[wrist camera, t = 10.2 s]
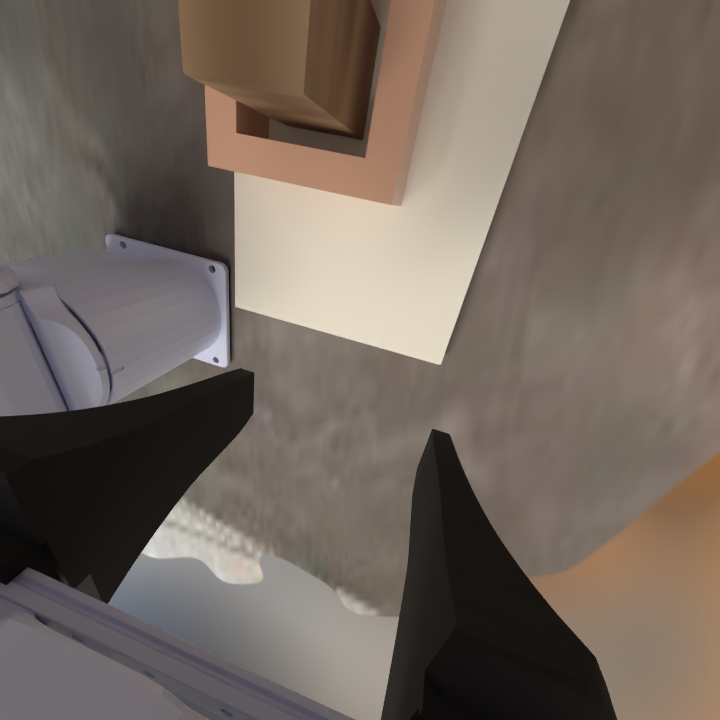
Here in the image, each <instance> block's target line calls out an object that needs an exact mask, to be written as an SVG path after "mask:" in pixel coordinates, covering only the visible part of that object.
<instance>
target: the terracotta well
mask: <svg viewBox="0 0 720 720" xmlns="http://www.w3.org/2000/svg"><path fill="white" fill-rule="evenodd" d="M446 1H447V0H391V4H390V10H389V16H388V22H387V28H386V34H385V41H384V47H383V53H382V59H381V65H380V71H379V77H378V84H377V90H376V96H375V102H374V108H373V114H372V121H371V127H370V133H369V139H368V145H367V151H366V157H365V158H361V157H356V156H351V155H346V154H341V153H336V152H331V151H326V150H321V149H315V148H310V147H305V146H300V145H295V144H290V143H285V142H280V141H274V140H269V117H268V116H266V115H264V114H262V113H260V112H258V111H256V110H254V109H252V108H250V107H248V106H246V105H244V104H242V103H240V102H238V101H236V100H234V99H232V98H230V97H228V96H226V95H224V94H222V93H220V92H218V91H216V90H214V89H212V88H210V87H208V86H206V85H205V108H206V132H207V155H208V166H211V167H216V168H220V169H225V170H230V171H234V172H239V173H244V174H248V175H253V176H258V177H262V178H267V179H272V180H276V181H281V182H285V183H290V184H295V185H299V186H304V187H309V188H313V189H318V190H323V191H327V192H332V193H337V194H341V195H346V196H351V197H355V198H360V199H364V200H369V201H374V202H378V203H383V204H388V205H394V206H401V204H402V199H403V195H404V190H405V186H406V181H407V177H408V172H409V168H410V163H411V159H412V154H413V150H414V145H415V141H416V136H417V132H418V127H419V123H420V118H421V114H422V109H423V105H424V100H425V96H426V91H427V87H428V82H429V78H430V73H431V69H432V64H433V60H434V55H435V51H436V46H437V42H438V37H439V33H440V28H441V24H442V19H443V15H444V10H445V6H446Z"/></svg>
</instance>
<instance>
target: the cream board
mask: <svg viewBox="0 0 720 720" xmlns="http://www.w3.org/2000/svg"><path fill="white" fill-rule="evenodd" d="M370 1H371V4H372V6H373V9H374V11H375V14H376V16H377V19H378V21H379V24H380V27H381V28H380V35H379V41H378V48H377V54H376V61H375V67H374V73H373V80H372V86H371V93H370V99H369V105H368V112H367V118H366V125H365V131H364V137H363V140H359V139H354V138H349V137H343V136H338V135H333V134H327V133H322V132H317V131H311V130H306V129H301V128H295V127H290V126H286V125H284V124H282V123H280V122H278V121H276V120H274V119H272V118H270V117H269V140H274V141H280V142H285V143H290V144H295V145H300V146H305V147H310V148H315V149H321V150H326V151H331V152H336V153H341V154H346V155H351V156H356V157H361V158H365V157H366V151H367V145H368V139H369V133H370V127H371V121H372V114H373V108H374V102H375V96H376V90H377V84H378V77H379V71H380V65H381V59H382V53H383V47H384V41H385V34H386V28H387V22H388V16H389V10H390V4H391V0H370ZM569 2H570V0H447V1H446V6H445V10H444V15H443V19H442V24H441V28H440V33H439V37H438V42H437V46H436V51H435V55H434V60H433V64H432V69H431V73H430V78H429V82H428V87H427V91H426V96H425V100H424V105H423V109H422V114H421V118H420V123H419V127H418V132H417V136H416V141H415V145H414V150H413V154H412V159H411V163H410V168H409V172H408V177H407V181H406V186H405V190H404V195H403V199H402V204H401V206H394V205H388V204H383V203H378V202H374V201H369V200H364V199H360V198H355V197H351V196H346V195H341V194H337V193H332V192H327V191H323V190H318V189H313V188H309V187H304V186H299V185H295V184H290V183H285V182H281V181H276V180H272V179H267V178H262V177H258V176H253V175H248V174H244V173H239V172H234V191H235V307H238V308H242V309H245V310H249V311H252V312H256V313H259V314H263V315H266V316H270V317H273V318H277V319H280V320H284V321H287V322H291V323H294V324H298V325H301V326H305V327H308V328H312V329H315V330H319V331H322V332H326V333H330V334H333V335H337V336H340V337H344V338H347V339H351V340H354V341H358V342H361V343H365V344H368V345H372V346H375V347H379V348H382V349H386V350H389V351H393V352H396V353H400V354H403V355H407V356H410V357H414V358H417V359H421V360H425V361H428V362H432V363H435V364H439V365H441V362H442V360H443V357H444V354H445V351H446V348H447V346H448V343H449V340H450V337H451V334H452V331H453V329H454V326H455V323H456V320H457V317H458V315H459V312H460V309H461V306H462V303H463V301H464V298H465V295H466V292H467V289H468V286H469V284H470V281H471V278H472V275H473V272H474V270H475V267H476V264H477V261H478V258H479V255H480V253H481V250H482V247H483V244H484V241H485V239H486V236H487V233H488V230H489V227H490V224H491V222H492V219H493V216H494V213H495V210H496V208H497V205H498V202H499V199H500V196H501V194H502V191H503V188H504V185H505V182H506V179H507V177H508V174H509V171H510V168H511V165H512V163H513V160H514V157H515V154H516V151H517V148H518V146H519V143H520V140H521V137H522V134H523V132H524V129H525V126H526V123H527V120H528V117H529V115H530V112H531V109H532V106H533V103H534V101H535V98H536V95H537V92H538V89H539V86H540V84H541V81H542V78H543V75H544V72H545V70H546V67H547V64H548V61H549V58H550V56H551V53H552V50H553V47H554V44H555V41H556V39H557V36H558V33H559V30H560V27H561V25H562V22H563V19H564V16H565V13H566V10H567V8H568V5H569Z"/></svg>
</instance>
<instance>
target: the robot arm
mask: <svg viewBox="0 0 720 720" xmlns="http://www.w3.org/2000/svg"><path fill="white" fill-rule="evenodd" d="M125 244H126V245H125ZM106 245H107V249H103V250H95V251H86V252H78V253H70V254H61V255H53V256H44V257H36V258H27V259H19V260H14V261H9V262H6V263H3V264H0V720H209V719H207V718H206V717H204V716H202V715H200V714H199V713H197V712H195V711H194V710H192V709H190V708H188V707H187V706H185V705H184V704H183V703H182V702H181V701H180V700H179V699H178V698H177V697H175V696H174V695H173V694H171V693H170V692H169V691H168V690H170V691H171V692H174V693H175V694H177V695H179V696H182V697H184V698H185V699H187V700H190V701H192V702H194V703H196V704H198V705H200V706H202V707H204V708H206V709H208V710H210V711H212V712H214V713H216V714H218V715H220V716H222V717H224V718H226V719H228V720H355V719H353V718H350V717H348V716H346V715H344V714H342V713H339V712H338V711H335V710H333V709H331V708H329V707H327V706H324V705H323V704H320V703H318V702H316V701H314V700H312V699H310V698H308V697H305V696H303V695H301V694H299V693H297V692H295V691H292V690H290V689H288V688H286V687H284V686H282V685H280V684H277V683H275V682H273V681H271V680H269V679H267V678H265V677H263V676H260V675H258V674H256V673H254V672H252V671H250V670H247V669H245V668H243V667H241V666H239V665H237V664H235V663H233V662H230V661H228V660H226V659H224V658H222V657H220V656H217V655H215V654H213V653H211V652H209V651H207V650H205V649H202V648H200V647H198V646H196V645H194V644H192V643H190V642H187V641H185V640H183V639H181V638H179V637H177V636H175V635H172V634H170V633H168V632H166V631H164V630H162V629H160V628H157V627H155V626H153V625H151V624H149V623H147V622H145V621H142V620H140V619H138V618H136V617H134V616H132V615H130V614H127V613H125V612H123V611H121V610H119V609H117V608H114V607H113V606H110V605H108V602H109V601H110V599H111V598H112V596H113V594H114V593H115V591H116V590H117V588H118V586H119V585H120V584H121V582H122V581H123V579H124V577H125V576H126V574H127V573H128V571H129V570H130V568H131V567H132V565H133V563H134V562H135V561H136V559H137V558H138V556H139V555H140V553H141V552H142V551H143V549H144V548H145V546H146V545H147V543H148V542H149V540H150V539H151V538H152V536H153V535H154V533H155V532H156V530H157V529H158V528H159V526H160V525H161V524H162V522H163V521H164V520H165V518H166V517H167V515H168V514H169V513H170V511H171V510H172V509H173V507H174V506H175V505H176V504H177V502H178V501H179V500H180V498H181V497H182V496H183V495H184V493H185V492H186V491H187V489H188V488H189V487H190V486H191V484H192V483H193V482H194V481H195V480H196V479H197V478H198V476H199V475H200V474H201V473H202V472H203V471H204V470H205V469H206V468H207V467H208V466H209V465H210V464H211V463H212V462H213V460H214V459H215V458H216V457H217V456H218V455H219V454H220V453H221V452H222V451H223V450H224V449H225V448H226V447H227V446H228V445H229V444H230V442H231V441H232V440H233V439H234V438H235V437H236V436H237V435H238V434H239V433H240V431H241V430H242V428H243V427H244V426H245V424H246V423H247V422H248V420H249V419H250V417H251V416H252V414H253V403H254V372H250V371H247V370H244V369H241V368H240V369H236V370H233V371H230V372H226V373H223V374H220V375H217V376H214V377H212V378H209V379H206V380H203V381H200V382H197V383H194V384H191V385H187V386H184V387H181V388H177V389H174V390H171V391H167V392H164V393H160V394H157V395H153V396H149V397H145V398H141V399H136V400H132V401H127V402H122V403H117V404H113V403H115V402H116V401H118V400H120V399H121V398H123V397H125V396H127V395H128V394H130V393H132V392H134V391H135V390H137V389H139V388H141V387H142V386H144V385H146V384H147V383H149V382H151V381H153V380H154V379H156V378H158V377H160V376H161V375H163V374H165V373H167V372H168V371H170V370H172V369H173V368H175V367H177V366H179V365H180V364H182V363H184V362H186V361H187V360H189V359H191V358H195V359H198V360H201V361H204V362H208V363H211V364H214V365H217V366H220V367H226V366H228V365H229V364H230V327H229V271H228V268H227V266H226V265H225V264H224V263H222V262H218V261H215V260H211V259H207V258H203V257H199V256H196V255H192V254H188V253H184V252H180V251H177V250H173V249H169V248H165V247H162V246H158V245H154V244H150V243H146V242H143V241H139V240H135V239H131V238H127V237H124V236H120V235H116V234H108V235H106ZM212 266H214V267H215V271H214V270H213V268H212ZM216 358H218V360H217V359H216ZM381 720H617V718H616V715H615V712H614V708H613V705H612V702H611V699H610V695H609V692H608V689H607V686H606V683H605V680H604V678H603V675H602V673H601V670H600V668H599V665H598V662H597V660H596V657H595V656H594V655H593V654H592V653H591V652H590V650H589V649H588V648H587V647H586V646H585V645H584V644H583V643H582V641H581V640H580V639H579V638H578V637H577V636H576V635H575V634H574V633H573V631H572V630H571V629H570V628H569V627H568V626H567V625H566V624H565V622H564V621H563V620H562V619H561V618H560V617H559V616H558V615H557V614H556V612H555V611H554V610H553V609H552V608H551V606H550V605H549V604H548V603H547V602H546V600H545V599H544V598H543V597H542V595H541V594H540V593H539V592H538V590H537V589H536V588H535V587H534V585H533V584H532V583H531V581H530V580H529V579H528V578H527V576H526V575H525V574H524V572H523V571H522V570H521V568H520V567H519V565H518V564H517V563H516V561H515V560H514V558H513V557H512V556H511V554H510V553H509V551H508V550H507V549H506V547H505V546H504V544H503V543H502V541H501V540H500V538H499V537H498V535H497V533H496V532H495V530H494V529H493V527H492V525H491V524H490V522H489V520H488V518H487V517H486V515H485V513H484V511H483V510H482V508H481V506H480V504H479V502H478V500H477V498H476V496H475V494H474V492H473V490H472V488H471V486H470V484H469V482H468V479H467V477H466V475H465V473H464V470H463V468H462V466H461V463H460V461H459V458H458V456H457V453H456V450H455V448H454V445H453V442H452V439H451V437H450V435H449V434H447V433H444V432H441V431H438V430H435V429H432V431H431V434H430V436H429V439H428V442H427V444H426V447H425V449H424V452H423V455H422V457H421V460H420V462H419V465H418V468H417V472H416V478H415V483H414V489H413V496H412V510H411V525H410V541H409V556H408V565H407V573H406V579H405V586H404V592H403V598H402V605H401V611H400V616H399V622H398V628H397V635H396V640H395V646H394V652H393V657H392V663H391V668H390V674H389V679H388V685H387V690H386V695H385V701H384V706H383V711H382V717H381Z"/></svg>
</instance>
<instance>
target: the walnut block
mask: <svg viewBox="0 0 720 720" xmlns="http://www.w3.org/2000/svg"><path fill="white" fill-rule="evenodd" d="M178 7H179V22H180V37H181V52H182V67H183V74H185V75H186V76H188V77H190V78H192V79H194V80H196V81H198V82H200V83H202V84H204V85H206V86H208V87H210V88H212V89H214V90H216V91H218V92H220V93H222V94H224V95H226V96H228V97H230V98H232V99H234V100H236V101H238V102H240V103H242V104H244V105H246V106H248V107H250V108H252V109H254V110H256V111H258V112H260V113H262V114H264V115H266V116H268V117H270V118H272V119H274V120H276V121H278V122H280V123H282V124H284V125H286V126H290V127H295V128H301V129H306V130H311V131H317V132H322V133H327V134H333V135H338V136H343V137H349V138H354V139H359V140H363V137H364V131H365V125H366V118H367V112H368V105H369V99H370V93H371V86H372V80H373V73H374V67H375V61H376V54H377V48H378V41H379V35H380V28H381V27H380V24H379V21H378V19H377V16H376V14H375V11H374V9H373V6H372V4H371V1H370V0H178Z"/></svg>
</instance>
